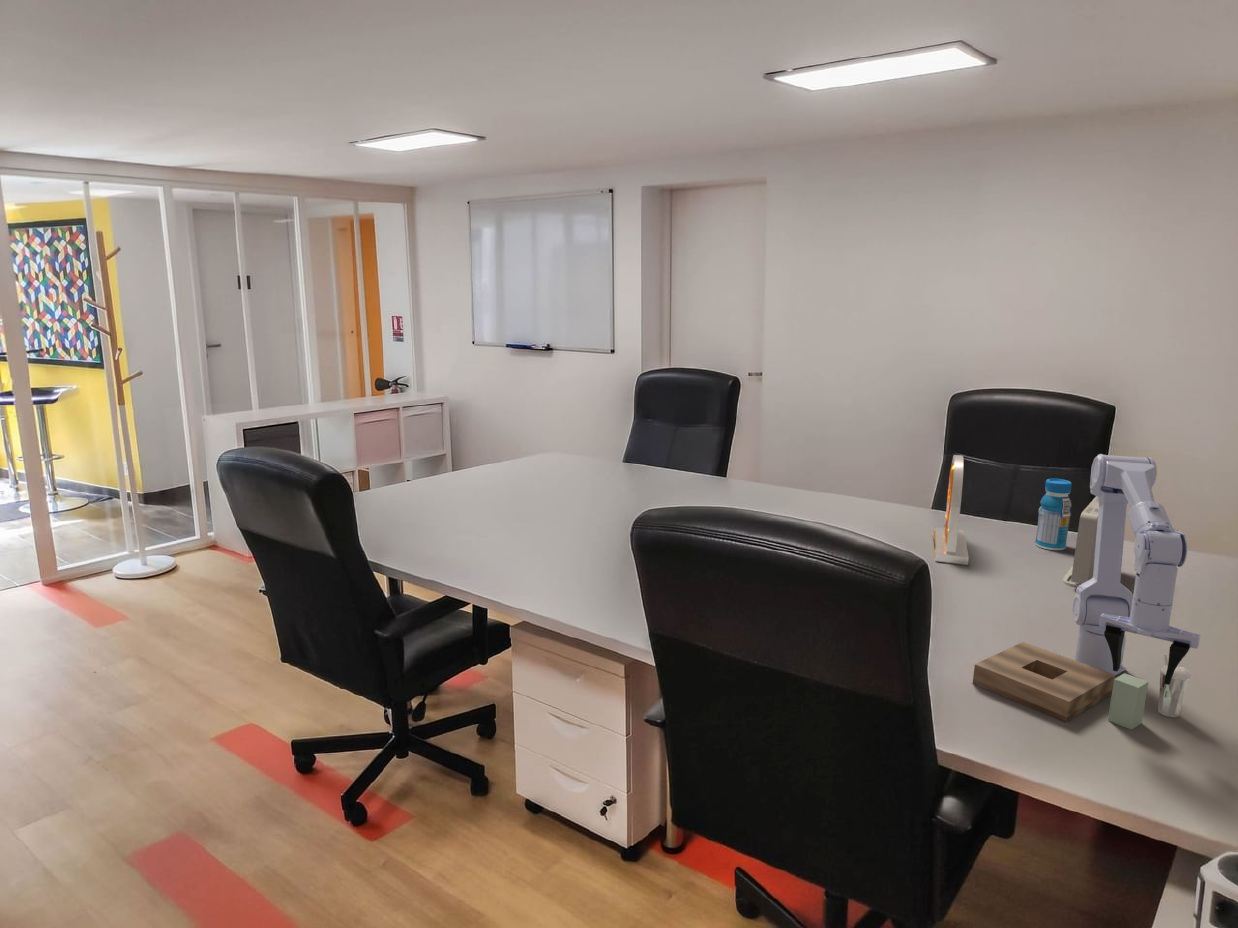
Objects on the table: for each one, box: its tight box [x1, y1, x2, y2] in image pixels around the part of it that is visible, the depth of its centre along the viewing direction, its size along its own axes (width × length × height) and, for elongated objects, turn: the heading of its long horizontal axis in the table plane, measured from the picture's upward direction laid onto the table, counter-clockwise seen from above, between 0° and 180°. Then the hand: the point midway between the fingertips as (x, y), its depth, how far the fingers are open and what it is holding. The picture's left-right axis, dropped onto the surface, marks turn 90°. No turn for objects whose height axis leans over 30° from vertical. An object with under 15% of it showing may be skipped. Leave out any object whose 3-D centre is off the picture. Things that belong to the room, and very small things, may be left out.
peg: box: [1107, 672, 1149, 731], centre depth 151 cm, size 4×4×8 cm
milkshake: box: [1157, 654, 1191, 719], centre depth 155 cm, size 5×5×10 cm
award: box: [932, 454, 970, 566], centre depth 245 cm, size 28×9×28 cm, turn 161°
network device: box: [1062, 496, 1099, 588], centre depth 224 cm, size 26×9×20 cm, turn 143°
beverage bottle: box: [1034, 478, 1073, 551], centre depth 250 cm, size 8×8×20 cm
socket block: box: [972, 641, 1116, 723], centre depth 163 cm, size 18×18×4 cm
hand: (1141, 675), depth 147 cm, fingers open, 7 cm apart
